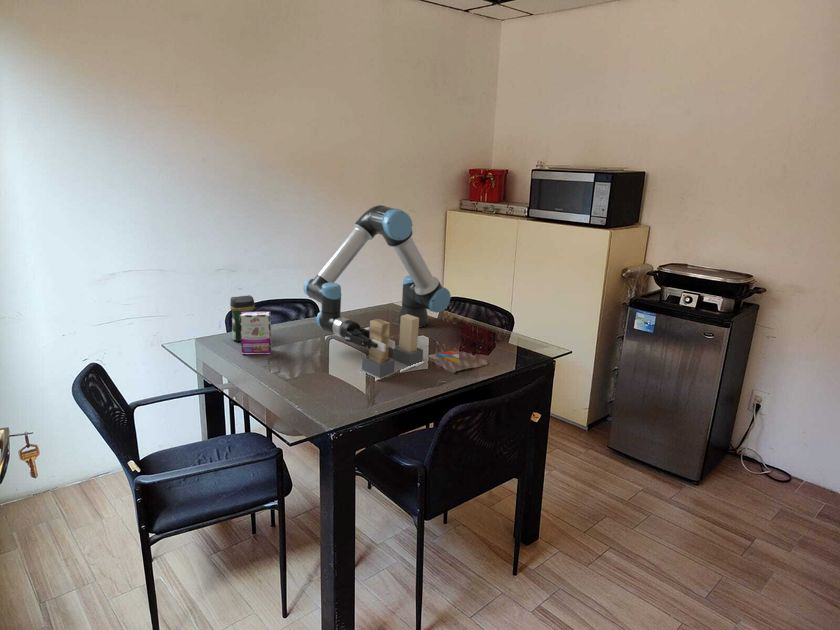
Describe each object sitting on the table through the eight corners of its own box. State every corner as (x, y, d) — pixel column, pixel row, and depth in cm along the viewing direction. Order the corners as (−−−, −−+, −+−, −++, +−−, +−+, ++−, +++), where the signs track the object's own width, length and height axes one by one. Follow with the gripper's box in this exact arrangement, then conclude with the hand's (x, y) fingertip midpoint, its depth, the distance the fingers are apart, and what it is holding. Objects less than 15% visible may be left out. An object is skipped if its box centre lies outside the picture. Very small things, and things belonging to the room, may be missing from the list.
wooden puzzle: (489, 366, 222) (490, 358, 221) (454, 376, 211) (454, 367, 210) (460, 351, 235) (460, 343, 234) (425, 360, 224) (426, 352, 222)
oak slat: (376, 363, 210) (378, 318, 204) (387, 368, 206) (389, 322, 200) (368, 366, 207) (370, 320, 201) (379, 371, 203) (381, 325, 198)
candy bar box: (271, 349, 222) (270, 311, 217) (271, 354, 218) (270, 315, 212) (242, 350, 220) (241, 311, 215) (241, 355, 215) (239, 315, 210)
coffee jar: (253, 334, 237) (251, 292, 231) (258, 340, 231) (256, 297, 225) (229, 337, 232) (227, 294, 226) (234, 343, 226) (232, 300, 220)
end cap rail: (405, 355, 225) (408, 311, 219) (424, 363, 219) (427, 318, 213) (359, 372, 207) (361, 324, 201) (378, 381, 201) (380, 332, 195)
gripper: (363, 333, 222) (405, 350, 207) (329, 343, 210) (371, 362, 195) (363, 315, 219) (406, 331, 205) (329, 324, 207) (372, 342, 193)
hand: (389, 346), depth 200 cm, fingers closed on oak slat, 4 cm apart
